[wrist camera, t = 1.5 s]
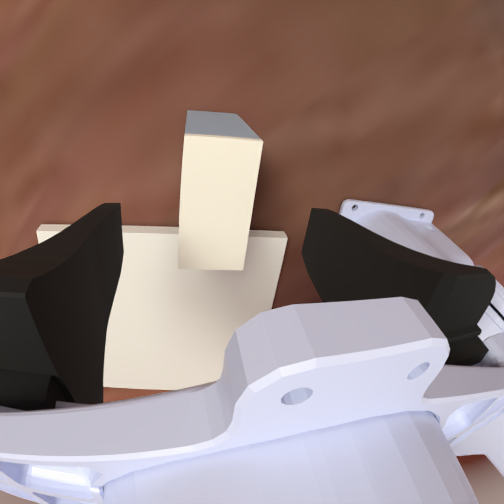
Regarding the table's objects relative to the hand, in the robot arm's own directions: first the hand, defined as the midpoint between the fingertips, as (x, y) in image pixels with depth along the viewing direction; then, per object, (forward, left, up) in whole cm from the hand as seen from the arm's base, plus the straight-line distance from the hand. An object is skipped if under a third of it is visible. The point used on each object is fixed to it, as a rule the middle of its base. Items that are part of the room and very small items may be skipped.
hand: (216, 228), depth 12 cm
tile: (+3, +14, -10) cm, 17 cm away
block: (0, 0, -10) cm, 10 cm away
